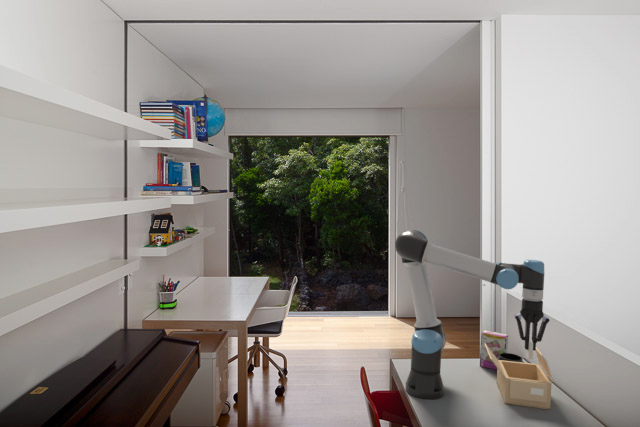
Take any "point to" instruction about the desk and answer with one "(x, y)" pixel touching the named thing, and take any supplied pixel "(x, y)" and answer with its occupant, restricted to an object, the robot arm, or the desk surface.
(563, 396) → the desk surface
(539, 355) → the flap
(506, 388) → the carton
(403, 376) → the desk surface
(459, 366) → the desk surface
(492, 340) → the candy bar box
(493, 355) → the flap
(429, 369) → the robot arm
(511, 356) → the mug
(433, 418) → the desk surface
